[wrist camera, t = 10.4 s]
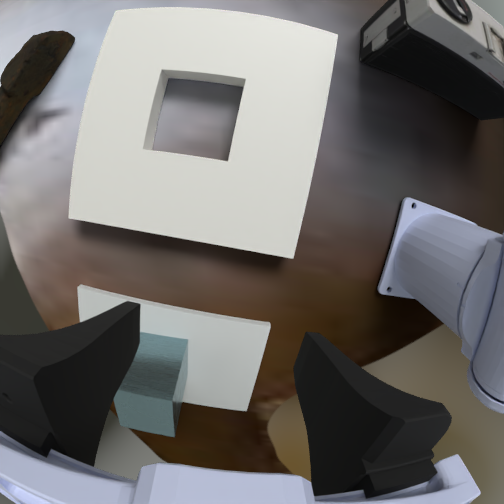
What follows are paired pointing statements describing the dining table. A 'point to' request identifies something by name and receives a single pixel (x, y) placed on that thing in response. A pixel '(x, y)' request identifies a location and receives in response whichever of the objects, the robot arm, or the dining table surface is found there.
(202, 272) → the dining table surface
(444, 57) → the camera
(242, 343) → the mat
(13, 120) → the dark brown wooden bar
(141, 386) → the teal rectangular block
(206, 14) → the plate
